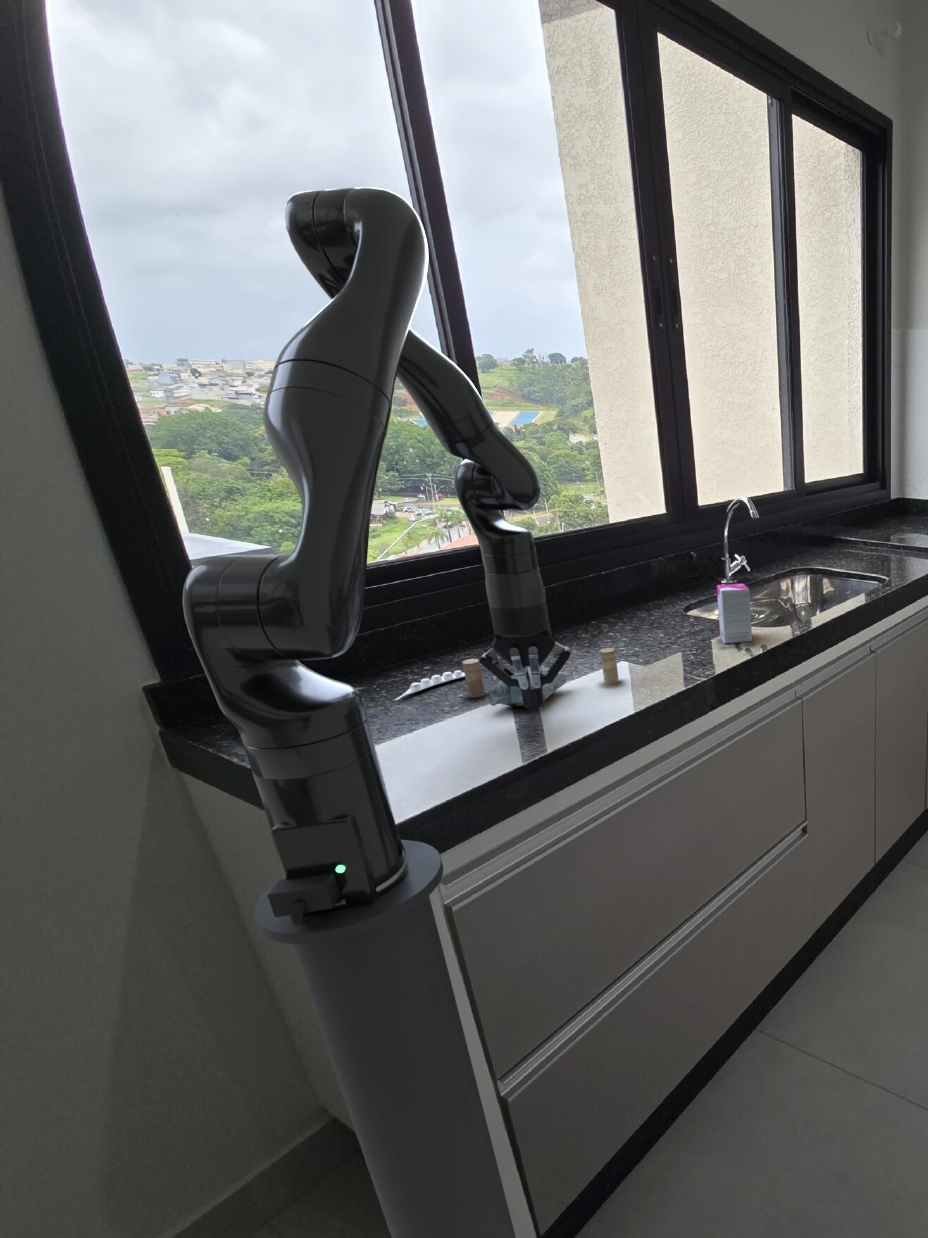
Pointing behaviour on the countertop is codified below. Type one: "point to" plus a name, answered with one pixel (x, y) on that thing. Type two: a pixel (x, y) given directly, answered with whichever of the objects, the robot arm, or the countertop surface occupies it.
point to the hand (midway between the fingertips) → (535, 709)
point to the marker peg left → (473, 678)
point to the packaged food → (514, 695)
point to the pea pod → (432, 682)
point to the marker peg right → (609, 666)
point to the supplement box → (734, 613)
